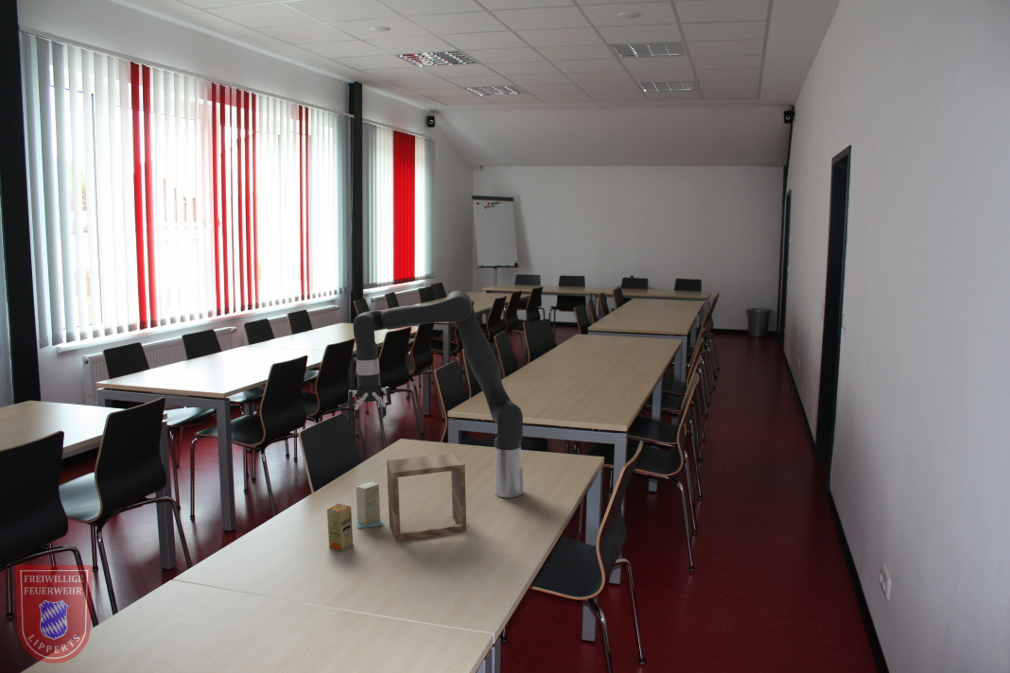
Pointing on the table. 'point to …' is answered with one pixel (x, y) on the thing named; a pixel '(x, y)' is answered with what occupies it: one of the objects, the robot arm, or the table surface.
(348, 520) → the shoe polish box
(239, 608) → the table surface
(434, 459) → the wooden square frame
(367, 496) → the skincare box
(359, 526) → the mat
